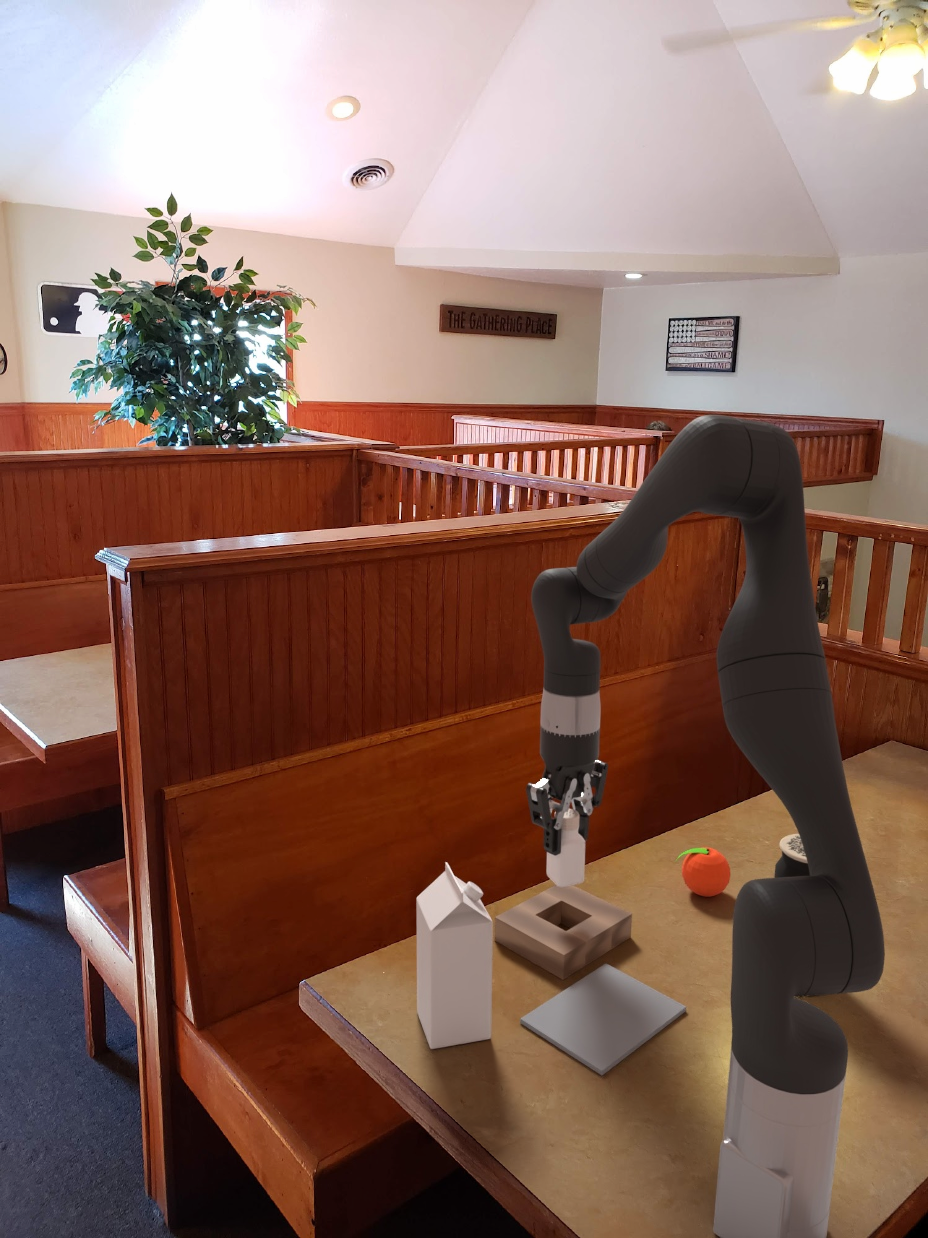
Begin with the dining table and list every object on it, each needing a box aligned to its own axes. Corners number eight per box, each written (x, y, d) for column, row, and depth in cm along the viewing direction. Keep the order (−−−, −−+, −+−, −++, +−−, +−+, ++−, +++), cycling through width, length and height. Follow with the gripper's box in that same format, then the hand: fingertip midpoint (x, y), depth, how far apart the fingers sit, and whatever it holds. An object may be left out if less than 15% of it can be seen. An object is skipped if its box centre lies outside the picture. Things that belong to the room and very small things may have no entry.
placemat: (601, 1076, 103) (602, 1071, 102) (520, 1023, 111) (520, 1018, 111) (686, 1011, 113) (686, 1006, 113) (605, 967, 122) (605, 963, 122)
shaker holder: (563, 980, 119) (564, 955, 118) (494, 940, 128) (494, 917, 127) (630, 937, 129) (632, 913, 128) (562, 903, 137) (563, 881, 136)
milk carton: (430, 1051, 106) (430, 897, 102) (416, 1012, 113) (415, 866, 108) (491, 1040, 108) (494, 888, 104) (474, 1002, 115) (475, 858, 110)
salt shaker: (585, 884, 125) (588, 817, 123) (558, 890, 123) (560, 822, 121) (571, 870, 128) (573, 804, 126) (544, 876, 127) (546, 809, 125)
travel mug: (752, 975, 120) (764, 844, 116) (787, 952, 125) (800, 826, 121) (810, 1006, 115) (824, 869, 110) (844, 980, 120) (859, 849, 115)
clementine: (673, 902, 137) (676, 857, 136) (672, 879, 144) (674, 835, 142) (730, 908, 136) (734, 862, 134) (726, 884, 143) (730, 840, 141)
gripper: (555, 744, 113) (551, 875, 117) (628, 717, 123) (622, 839, 127) (509, 728, 119) (507, 854, 122) (583, 703, 128) (578, 821, 132)
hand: (566, 845), depth 125 cm, fingers closed on salt shaker, 4 cm apart
